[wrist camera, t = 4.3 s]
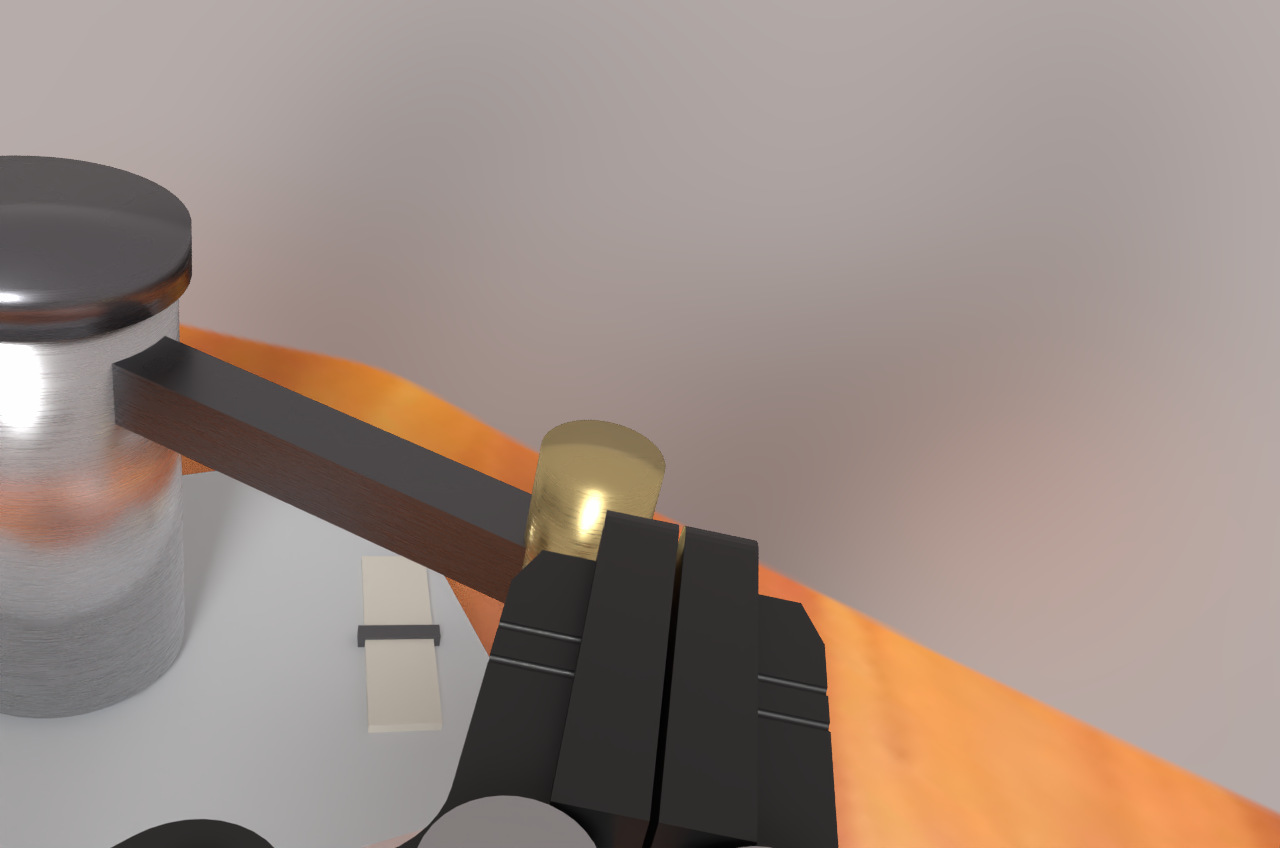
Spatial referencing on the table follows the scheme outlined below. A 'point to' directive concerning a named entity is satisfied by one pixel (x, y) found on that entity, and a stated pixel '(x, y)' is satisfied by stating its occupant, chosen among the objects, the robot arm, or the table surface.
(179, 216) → the capstan
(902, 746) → the table surface
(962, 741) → the table surface
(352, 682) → the stand
